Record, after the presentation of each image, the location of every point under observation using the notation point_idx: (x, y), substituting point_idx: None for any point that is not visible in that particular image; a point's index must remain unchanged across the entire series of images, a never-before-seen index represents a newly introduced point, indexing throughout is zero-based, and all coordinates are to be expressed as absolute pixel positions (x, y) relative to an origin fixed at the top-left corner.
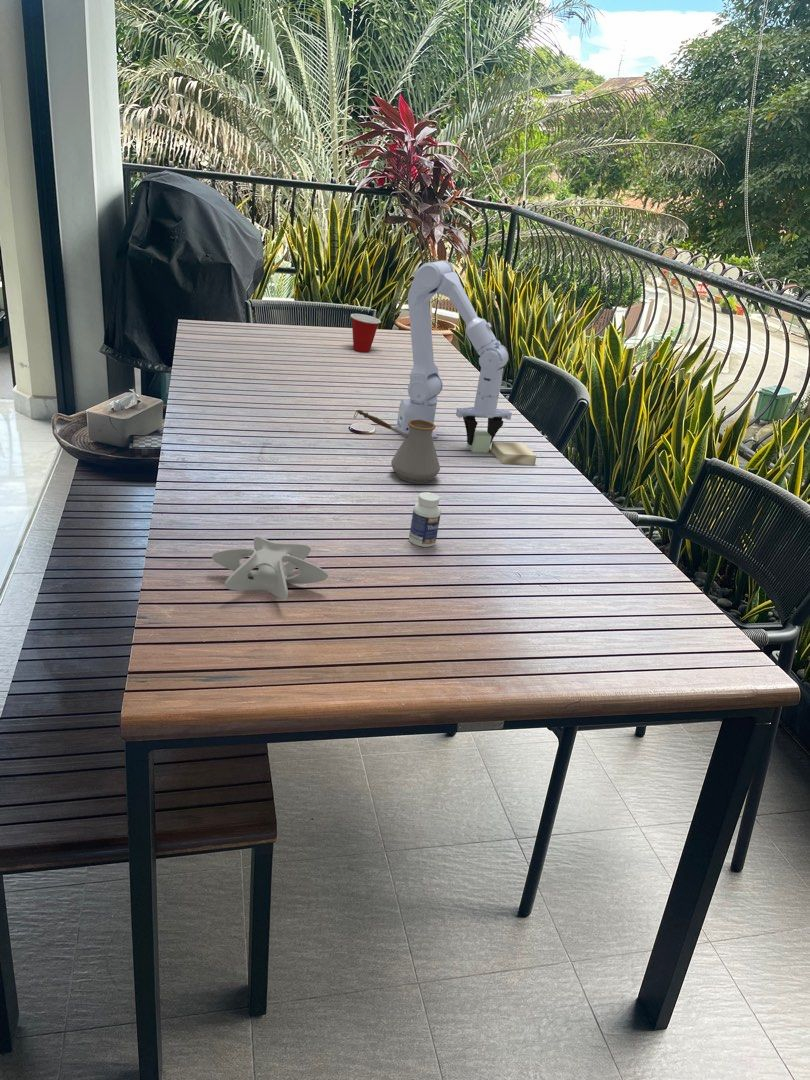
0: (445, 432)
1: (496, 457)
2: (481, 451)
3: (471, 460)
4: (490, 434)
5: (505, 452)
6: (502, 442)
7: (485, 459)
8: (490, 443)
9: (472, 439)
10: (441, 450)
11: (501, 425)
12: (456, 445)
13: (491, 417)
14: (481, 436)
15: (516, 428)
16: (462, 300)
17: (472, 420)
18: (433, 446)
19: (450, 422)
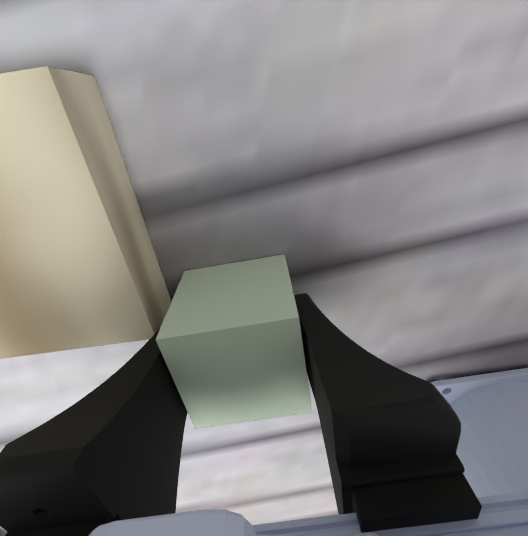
0: None
1: (136, 200)
2: (229, 266)
3: (330, 88)
4: (163, 370)
5: (35, 124)
6: (83, 340)
7: (217, 141)
8: None
9: (304, 310)
10: (476, 233)
11: (19, 440)
12: (352, 326)
13: (116, 532)
14: (243, 323)
15: None
16: None
17: (390, 451)
18: None
19: (302, 515)
